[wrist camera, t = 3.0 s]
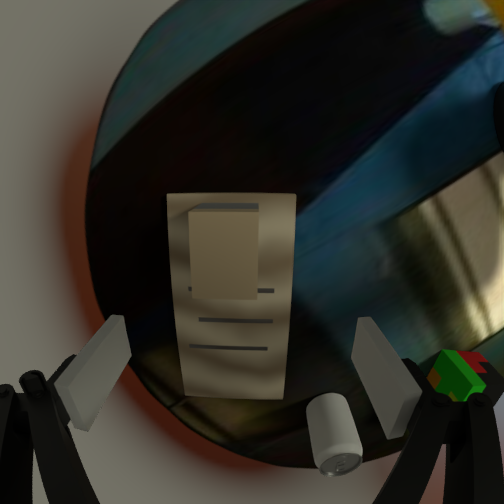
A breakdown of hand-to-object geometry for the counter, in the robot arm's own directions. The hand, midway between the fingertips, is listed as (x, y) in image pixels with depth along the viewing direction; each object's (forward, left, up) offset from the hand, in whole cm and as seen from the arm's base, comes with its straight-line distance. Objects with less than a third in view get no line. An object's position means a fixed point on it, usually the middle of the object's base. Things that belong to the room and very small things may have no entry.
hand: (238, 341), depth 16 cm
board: (+8, -2, -19) cm, 21 cm away
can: (+25, +12, -20) cm, 34 cm away
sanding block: (-1, -2, -18) cm, 19 cm away
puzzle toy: (+22, +34, -20) cm, 45 cm away
